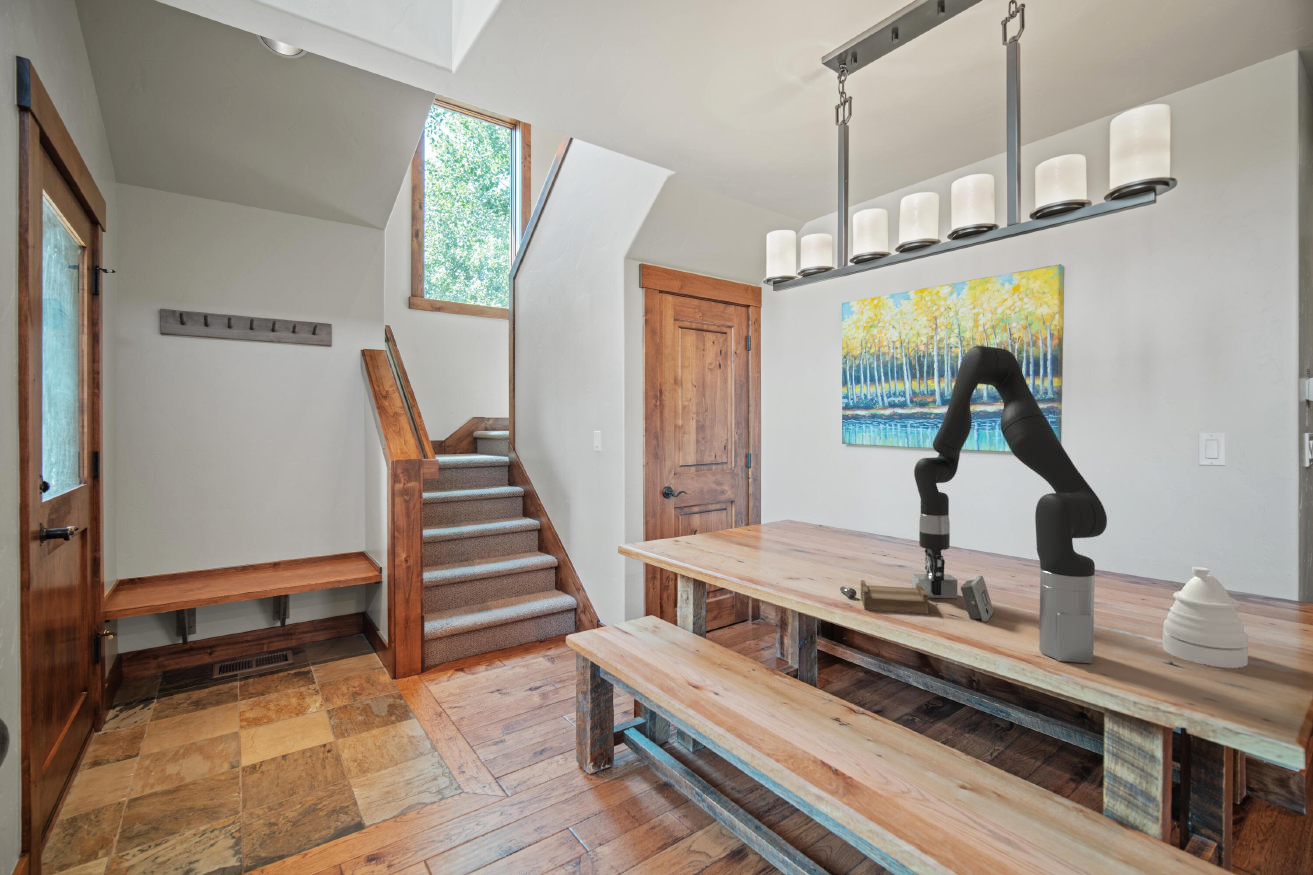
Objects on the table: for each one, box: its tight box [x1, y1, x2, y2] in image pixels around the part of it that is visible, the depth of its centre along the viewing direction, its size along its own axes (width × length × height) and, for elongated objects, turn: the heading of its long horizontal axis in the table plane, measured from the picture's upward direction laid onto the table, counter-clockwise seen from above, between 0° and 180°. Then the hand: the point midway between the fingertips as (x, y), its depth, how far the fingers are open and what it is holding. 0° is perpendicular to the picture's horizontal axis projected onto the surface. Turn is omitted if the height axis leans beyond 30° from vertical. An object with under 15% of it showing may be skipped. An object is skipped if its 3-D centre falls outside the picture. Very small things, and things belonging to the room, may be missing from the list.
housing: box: [911, 573, 958, 599], centre depth 165 cm, size 6×10×6 cm, turn 83°
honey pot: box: [1162, 566, 1249, 669], centre depth 123 cm, size 13×13×18 cm
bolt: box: [839, 585, 857, 599], centre depth 166 cm, size 6×3×3 cm, turn 6°
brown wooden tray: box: [860, 579, 929, 615], centre depth 157 cm, size 12×15×4 cm
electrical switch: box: [960, 575, 995, 623], centre depth 148 cm, size 9×5×9 cm, turn 141°
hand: (934, 591), depth 165 cm, fingers closed on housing, 6 cm apart
